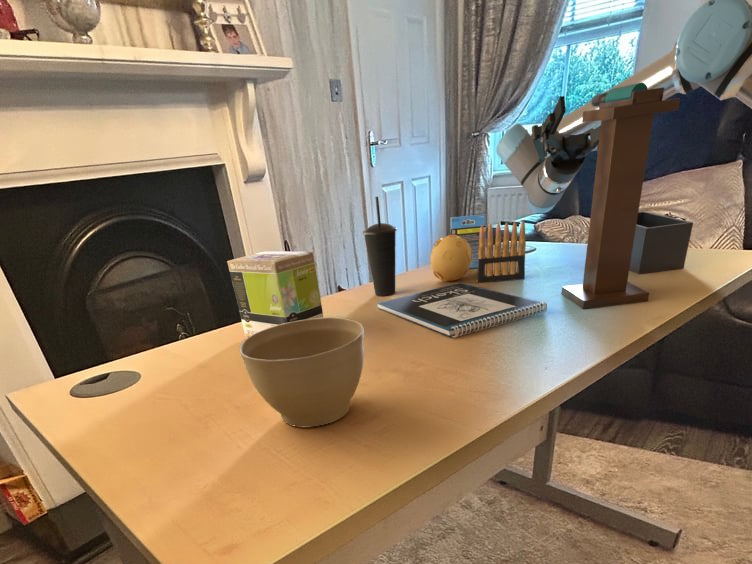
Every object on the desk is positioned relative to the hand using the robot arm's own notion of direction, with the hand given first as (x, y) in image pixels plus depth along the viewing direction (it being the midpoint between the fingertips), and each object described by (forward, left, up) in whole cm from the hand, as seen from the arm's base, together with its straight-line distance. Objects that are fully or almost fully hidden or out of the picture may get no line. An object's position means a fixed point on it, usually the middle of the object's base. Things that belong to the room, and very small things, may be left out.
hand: (601, 98), depth 94 cm
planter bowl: (+35, +66, -32) cm, 81 cm away
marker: (-2, +7, -1) cm, 7 cm away
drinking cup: (+44, +1, -32) cm, 54 cm away
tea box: (+56, +30, -32) cm, 71 cm away
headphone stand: (-4, +11, -31) cm, 34 cm away
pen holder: (-13, -18, -31) cm, 39 cm away
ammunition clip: (+18, -7, -32) cm, 37 cm away
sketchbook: (+24, +17, -32) cm, 43 cm away
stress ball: (+29, -9, -32) cm, 44 cm away
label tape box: (+28, -22, -32) cm, 48 cm away
